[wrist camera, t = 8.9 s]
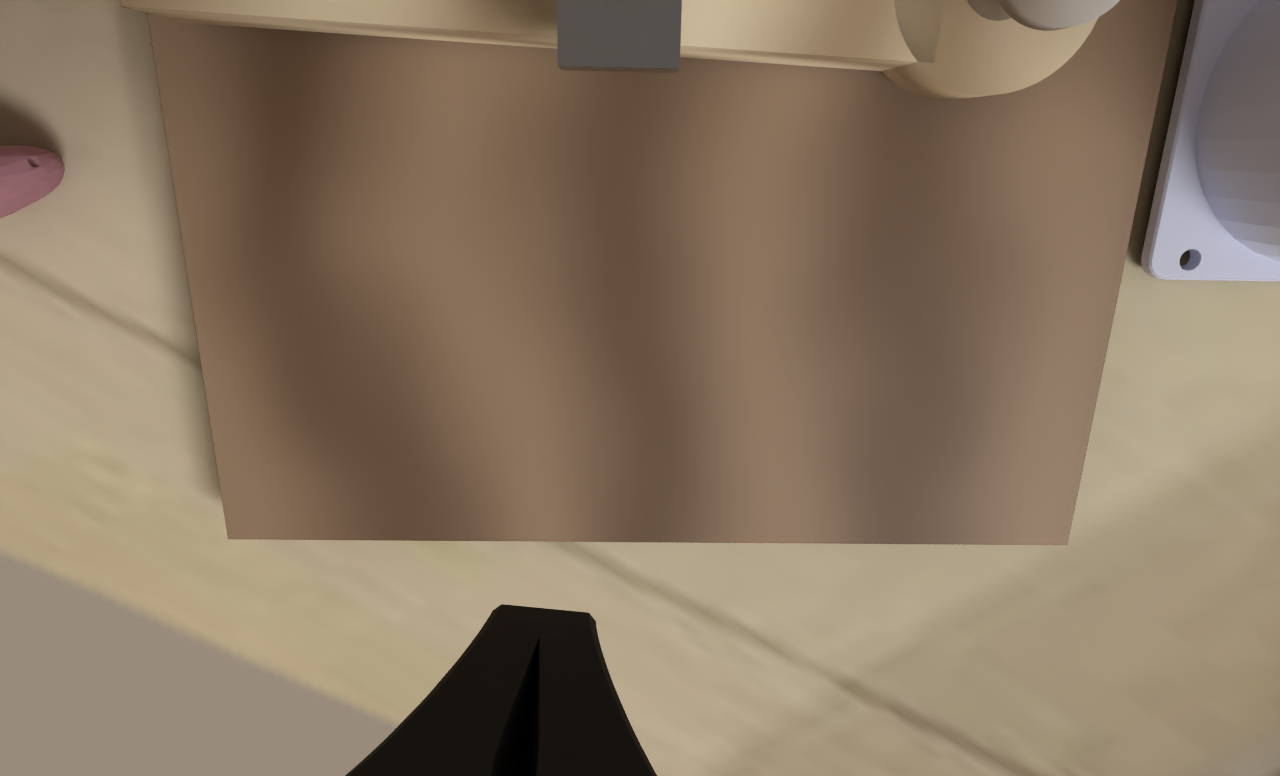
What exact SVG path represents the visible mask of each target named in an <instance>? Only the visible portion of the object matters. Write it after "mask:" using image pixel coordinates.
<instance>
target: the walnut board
mask: <svg viewBox="0 0 1280 776" xmlns="http://www.w3.org/2000/svg"><path fill="white" fill-rule="evenodd" d="M1177 2H1178V0H1120V1H1119V2H1118V3H1117V4H1116V5H1115V6H1114V7H1113V8H1111V9H1110V10H1109V11H1107V12H1106V13H1105V14H1103V15H1101V16H1100V17H1099V18H1098V20H1097V21H1096V23H1095V25H1094V27H1093V29H1092V31H1091V32H1090V34H1089V35H1088V37H1087V38H1086V40H1085V41H1084V43H1083V44H1082V45H1081V47H1080V48H1079V49H1078V50H1077V51H1076V53H1075V54H1074V55H1073V56H1072V57H1071V58H1070V59H1069V60H1068V61H1067V62H1066V63H1065V64H1064V65H1063V66H1061V67H1060V68H1059V69H1058V70H1056V71H1055V72H1054V73H1052V74H1051V75H1050V76H1048V77H1046V78H1045V79H1043V80H1041V81H1039V82H1038V83H1036V84H1033V85H1031V86H1029V87H1026V88H1024V89H1021V90H1018V91H1014V92H1011V93H1005V94H998V95H990V96H981V97H972V98H963V99H954V100H935V99H928V98H924V97H920V96H917V95H914V94H912V93H910V92H907V91H905V90H904V89H902V88H900V87H899V86H897V85H896V84H894V83H893V82H892V81H891V80H890V79H889V78H888V77H887V76H886V75H885V74H884V73H883V72H882V71H873V70H858V69H844V68H829V67H815V66H800V65H786V64H772V63H757V62H743V61H728V60H714V59H700V58H685V57H680V69H679V70H678V71H677V72H676V73H653V72H607V71H562V70H561V69H560V68H559V67H558V51H557V49H555V48H541V47H527V46H512V45H498V44H483V43H469V42H454V41H440V40H426V39H411V38H397V37H382V36H368V35H354V34H339V33H325V32H310V31H296V30H281V29H267V28H253V27H238V26H224V25H209V24H195V23H183V22H180V21H176V20H172V19H168V18H164V17H160V16H156V15H153V14H149V13H147V14H148V21H149V27H150V34H151V40H152V47H153V54H154V60H155V67H156V73H157V80H158V86H159V93H160V99H161V106H162V112H163V119H164V125H165V132H166V138H167V145H168V151H169V158H170V164H171V171H172V177H173V184H174V190H175V197H176V203H177V210H178V216H179V223H180V229H181V236H182V242H183V249H184V255H185V262H186V268H187V275H188V281H189V288H190V294H191V301H192V307H193V314H194V321H195V327H196V334H197V340H198V347H199V353H200V360H201V366H202V373H203V379H204V386H205V392H206V399H207V405H208V412H209V418H210V425H211V431H212V438H213V444H214V451H215V457H216V464H217V470H218V477H219V483H220V490H221V496H222V503H223V509H224V516H225V522H226V529H227V535H228V539H277V540H418V541H560V542H701V543H842V544H983V545H1067V544H1068V539H1069V534H1070V530H1071V525H1072V520H1073V515H1074V510H1075V505H1076V500H1077V495H1078V490H1079V485H1080V480H1081V475H1082V470H1083V465H1084V460H1085V456H1086V451H1087V446H1088V441H1089V436H1090V431H1091V426H1092V421H1093V416H1094V411H1095V406H1096V401H1097V396H1098V391H1099V387H1100V382H1101V377H1102V372H1103V367H1104V362H1105V357H1106V352H1107V347H1108V342H1109V337H1110V332H1111V327H1112V322H1113V318H1114V313H1115V308H1116V303H1117V298H1118V293H1119V288H1120V283H1121V278H1122V273H1123V268H1124V263H1125V258H1126V253H1127V249H1128V244H1129V239H1130V234H1131V229H1132V224H1133V219H1134V214H1135V209H1136V204H1137V199H1138V194H1139V189H1140V184H1141V180H1142V175H1143V170H1144V165H1145V160H1146V155H1147V150H1148V145H1149V140H1150V135H1151V130H1152V125H1153V120H1154V115H1155V111H1156V106H1157V101H1158V96H1159V91H1160V86H1161V81H1162V76H1163V71H1164V66H1165V61H1166V56H1167V51H1168V46H1169V42H1170V37H1171V32H1172V27H1173V22H1174V17H1175V12H1176V7H1177Z"/></svg>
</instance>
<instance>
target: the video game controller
mask: <svg viewBox="0 0 1280 776" xmlns="http://www.w3.org/2000/svg"><path fill="white" fill-rule="evenodd" d="M64 171H65V169H64V164H63V162H62V160H61V157H60V156H59V155H57V154H56V153H54V152H52V151H49V150H45V149H42V148H39V147H33V146H24V145H11V146H0V218H2V217H5V216H7V215H10V214H12V213H14V212H16V211H18V210H20V209H21V208H23V207H25V206H27V205H29V204H31V203H33V202H35V201H37V200H39V199H41V198H43V197H44V196H46V195H47V194H49V193H50V192H52V191H53V190H54V189H55V188H56V187H57V186H58V185H59V183H60V182H61V180H62V178H63V175H64Z"/></svg>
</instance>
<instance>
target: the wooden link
mask: <svg viewBox="0 0 1280 776" xmlns="http://www.w3.org/2000/svg"><path fill="white" fill-rule="evenodd" d="M1119 1H1120V0H682V13H681V44H680V57H685V58H700V59H714V60H728V61H743V62H757V63H772V64H786V65H800V66H815V67H829V68H844V69H858V70H873V71H882V72H883V73H884V74H885V75H886V76H887V77H888V78H889V79H890V80H891V81H892V82H893V83H894V84H896V85H897V86H899V87H900V88H902V89H904V90H905V91H907V92H910V93H912V94H914V95H917V96H920V97H924V98H928V99H935V100H954V99H963V98H972V97H981V96H990V95H998V94H1005V93H1011V92H1014V91H1018V90H1021V89H1024V88H1026V87H1029V86H1031V85H1033V84H1036V83H1038V82H1039V81H1041V80H1043V79H1045V78H1046V77H1048V76H1050V75H1051V74H1052V73H1054V72H1055V71H1056V70H1058V69H1059V68H1060V67H1061V66H1063V65H1064V64H1065V63H1066V62H1067V61H1068V60H1069V59H1070V58H1071V57H1072V56H1073V55H1074V54H1075V53H1076V51H1077V50H1078V49H1079V48H1080V47H1081V45H1082V44H1083V43H1084V41H1085V40H1086V38H1087V37H1088V35H1089V34H1090V32H1091V31H1092V29H1093V27H1094V25H1095V23H1096V21H1097V20H1098V18H1099V17H1100V16H1101V15H1103V14H1105V13H1106V12H1107V11H1109V10H1110V9H1111V8H1113V7H1114V6H1115V5H1116V4H1117V3H1118V2H1119ZM120 6H122V7H126V8H129V9H133V10H137V11H141V12H145V13H149V14H153V15H156V16H160V17H164V18H168V19H172V20H176V21H180V22H183V23H195V24H209V25H224V26H238V27H253V28H267V29H281V30H296V31H310V32H325V33H339V34H354V35H368V36H382V37H397V38H411V39H426V40H440V41H454V42H469V43H483V44H498V45H512V46H527V47H541V48H555V49H557V0H120Z"/></svg>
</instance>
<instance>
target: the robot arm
mask: <svg viewBox="0 0 1280 776" xmlns="http://www.w3.org/2000/svg"><path fill="white" fill-rule="evenodd" d="M1187 250H1189V252H1190V259H1189V261H1188V263H1187V264H1186V265H1184V266H1183V267H1181V266H1180V258H1181V256H1182V254H1183V253H1184V252H1185V251H1187ZM1141 266H1142V268H1143V270H1144V272H1145V273H1147V274H1148V275H1149V276H1152V277H1156V278H1160V279H1165V280H1228V281H1280V0H1195V2H1194V7H1193V12H1192V17H1191V21H1190V26H1189V31H1188V36H1187V41H1186V45H1185V50H1184V55H1183V60H1182V65H1181V69H1180V74H1179V79H1178V84H1177V89H1176V93H1175V98H1174V103H1173V108H1172V112H1171V117H1170V122H1169V127H1168V132H1167V136H1166V141H1165V146H1164V151H1163V156H1162V160H1161V165H1160V170H1159V175H1158V180H1157V184H1156V189H1155V194H1154V199H1153V203H1152V208H1151V213H1150V218H1149V223H1148V227H1147V232H1146V237H1145V242H1144V247H1143V251H1142V256H1141ZM346 776H657V775H656V773H655V771H654V769H653V768H652V766H651V764H650V762H649V760H648V758H647V756H646V754H645V752H644V751H643V749H642V747H641V745H640V743H639V741H638V739H637V737H636V735H635V733H634V731H633V729H632V727H631V724H630V722H629V720H628V718H627V716H626V713H625V711H624V709H623V706H622V704H621V702H620V699H619V697H618V695H617V692H616V690H615V688H614V685H613V682H612V680H611V677H610V674H609V672H608V669H607V666H606V663H605V660H604V657H603V653H602V650H601V647H600V643H599V639H598V634H597V629H596V621H595V620H594V619H593V617H592V616H591V615H590V614H589V613H585V612H575V611H564V610H554V609H544V608H533V607H523V606H513V605H500V606H499V607H497V608H496V609H495V610H493V611H492V613H491V615H490V616H489V618H488V620H487V621H486V623H485V624H484V626H483V627H482V629H481V630H480V632H479V633H478V634H477V636H476V637H475V639H474V640H473V641H472V643H471V644H470V645H469V647H468V648H467V649H466V650H465V652H464V653H463V654H462V656H461V657H460V658H459V659H458V661H457V662H456V663H455V664H454V665H453V667H452V668H451V669H450V670H449V671H448V672H447V674H446V675H445V676H444V677H443V678H442V680H441V681H440V682H439V683H438V684H437V685H436V687H435V688H434V689H433V690H432V691H431V692H430V694H429V695H428V696H427V697H426V698H425V699H424V700H423V701H422V702H421V703H420V704H419V705H418V706H417V707H416V708H415V709H414V711H413V712H412V713H411V714H410V715H409V716H408V717H407V718H406V719H405V720H404V721H403V722H402V723H401V724H400V725H399V726H398V727H397V728H396V729H395V730H394V731H393V732H392V733H391V734H390V735H389V736H388V737H387V738H386V739H385V740H384V741H383V742H382V743H381V744H380V745H379V746H378V747H377V748H376V749H375V750H373V751H372V752H371V754H369V755H368V756H367V757H366V758H365V759H364V760H363V761H362V762H360V763H359V764H358V765H357V766H356V767H355V768H354V769H353V770H351V771H350V772H349V773H348V774H347V775H346Z"/></svg>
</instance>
